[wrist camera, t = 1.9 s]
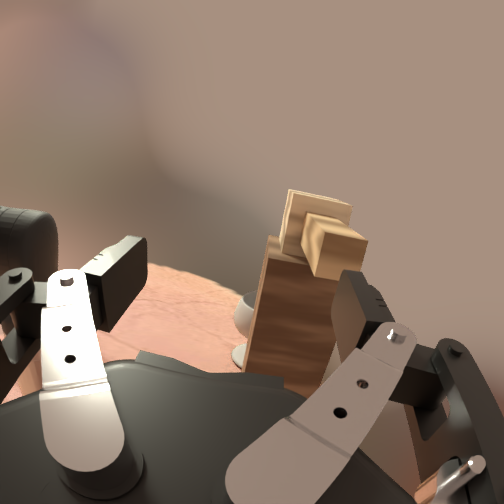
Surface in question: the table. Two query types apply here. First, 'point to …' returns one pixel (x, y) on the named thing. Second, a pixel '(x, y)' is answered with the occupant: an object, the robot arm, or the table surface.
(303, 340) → the herringbone wood pillar
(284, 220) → the mallet
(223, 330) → the table surface
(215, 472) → the robot arm
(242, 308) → the chalice
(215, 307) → the table surface
